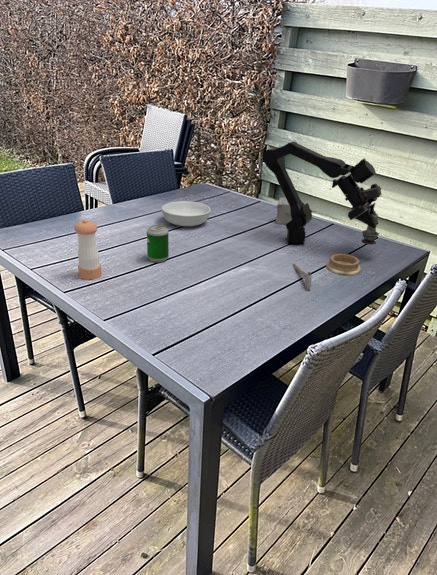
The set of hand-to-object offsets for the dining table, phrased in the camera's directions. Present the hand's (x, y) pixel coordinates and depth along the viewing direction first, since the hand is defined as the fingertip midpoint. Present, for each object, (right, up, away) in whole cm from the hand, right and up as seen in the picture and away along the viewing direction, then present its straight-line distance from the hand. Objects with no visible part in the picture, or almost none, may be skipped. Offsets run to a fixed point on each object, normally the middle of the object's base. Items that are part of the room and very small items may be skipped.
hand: (376, 225), depth 173 cm
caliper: (-29, -19, -10) cm, 36 cm away
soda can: (-79, -12, -1) cm, 80 cm away
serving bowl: (-71, +6, +35) cm, 79 cm away
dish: (-12, -15, -2) cm, 20 cm away
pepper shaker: (-100, -18, -15) cm, 102 cm away
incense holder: (-26, +6, +40) cm, 48 cm away
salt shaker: (-1, -6, +4) cm, 7 cm away
